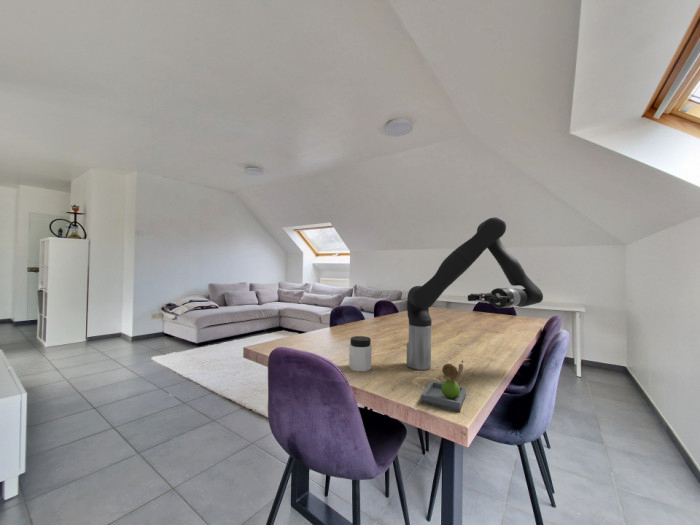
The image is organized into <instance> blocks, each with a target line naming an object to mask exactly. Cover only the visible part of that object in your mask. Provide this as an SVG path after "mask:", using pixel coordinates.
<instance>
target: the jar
mask: <svg viewBox="0 0 700 525" xmlns="http://www.w3.org/2000/svg"><path fill="white" fill-rule="evenodd" d="M371 340H372V339H371V338H370V337H369V336H365V335H364V336H363V335H362V336H361V335H358V336H357V335H354V336H351V337H350V341H349V342H350V344H349V347H348V351H349V353H348V368H349V369H351V370H352V371H353V372H360V373H361V372H367V371H369V370H372V353H373V352H372V349H373V348H372V345H371V343H372V342H371Z"/></svg>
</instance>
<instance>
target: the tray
mask: <svg viewBox="0 0 700 525" xmlns="http://www.w3.org/2000/svg"><path fill="white" fill-rule="evenodd" d="M443 383H444V382H439V381H434V380H430V382H429V383H428V384H427V385H426V387H425V389H424V390H423V391H422V393H421V395H420V404H423V405H427V406H432V407H436V408H441V409H444V410H448V411H449V410H450V411H453V412H457V413H460V412H461V410H462V406H463V404H464V401H465V399H466V395H467V390H466V389H467V388H466V387H464V386H460V385H459V387H460V394H459V396H458V397H457V398H456V399H448V398H446V397H445V396H444V395H443V393H442V390H441V387H442V384H443Z"/></svg>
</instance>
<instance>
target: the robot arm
mask: <svg viewBox="0 0 700 525" xmlns="http://www.w3.org/2000/svg"><path fill="white" fill-rule="evenodd" d="M506 230H507V223H506V221H505V220H504V219H503V218H501V217H499V216H498V217H496V216H494V217H490V218H488V219H486V220H484V221H483V222H481V223H480V224H479V225H478V226H477V229H476V233H475V234H474V235H473V236H472V237H471V238H469V239H467V240H466V241H465V242H464V243H462V244H461V245H459V246H457V248H455V249H454V250H453V251H451V253H450V254H448V255H447V257H445V258H444V260H443V261H442V262H441V264H440V265H439V267H438V269H437V271H436V272H435V273H434V275H433V276H432V277H431V278H430V279H429V280H428V281H426V282H425V283H424V284H423V285H415V286H413V287H411V288H410V289H409V291H408V292H407V297H406V298H407V303H406V304H407V308H406V309H407V313H406V314H407V318H408V340H407V343H406V363H405V364H406V367H408V368H411V369H413V370H418V371H419V370H420V371H425V370H431V368H432V322H433V320H432V317H431V315H430V312H429V311H430V308H431V307H432V306H433V305H434V304H435V302H436V301H437V300H438V299H439V298H440V296H441V295H442V294H444V291H445V290H446V289H448V288H449V287H450V286H451V285H452V284H453V283H454V282H455V281H456V280H458V278H460V277H461V276H462V275H463V274H464V273H465V272H466V271H467V270H468V269H469V268H470V267H471V266H472V265H473V263H475V262H476V261H477V260H478V258H480V256H481V255H482V254H483V253H484V251H486V250H487V249H488V251H489V252H490V254H491V255H492V256H493V257H494V259H495V260H496V262H497V264H498V265H499V267H500V269H501V270H502V272H503V274H504V276H505V277H506V279H507V280H508V283H509V284H510V285H511V286H512V287H517V286H520V287H522V288H512V287H511V288H509V287H498V288H494V289H492V290H491V291H490V292H486V293H483V292H480V293H470V294H468V295H467V301H468V302H480V303H484V304H485V303H487V304H490V305H492V306H493V307H494V308H497V309H508V308H512V307H513V308H514V307H519V308H523V307H529V306H532V305H536V304H539V303H542V301H543V299H544V295H543V294H544V293H543V292H542V291H541V289H540V288H539V286H537V285H536V284H535V283H534V282H533V281H532V280H531V279H530V278H529V277H528V275H527V273H526V272H525V270H524V268H523V267H522V265H521V264H520V262H519V261H518V259H517V258H516V257H515V256H514V255H512V253H510V252H509V250H507V248H506V247H505V246H504V245H503V243H502V241H501V239H500V238H502V237H503V236H504V234H505V233H506Z"/></svg>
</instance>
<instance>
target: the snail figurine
mask: <svg viewBox="0 0 700 525" xmlns="http://www.w3.org/2000/svg"><path fill="white" fill-rule="evenodd" d="M464 362H465V361H464V360H463V359H462V360H461V363H459V364H458V369H457V367H456V366H455V365H454V364H452V363H446V364H444V365H443V366H442V369H441V372H442V378H443V379H444V380H445V381H443V382H442V383H443V384H442V387H441V390H442V393H443V395H444V396H445V397H446V398H448V399H456V398H457V397H458V396H459V394H460V387H461V386H460V385H459V383H458V382H457V381H459V380H460V379H461V376H462V374H463V369H464ZM459 386H460V387H459Z"/></svg>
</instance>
